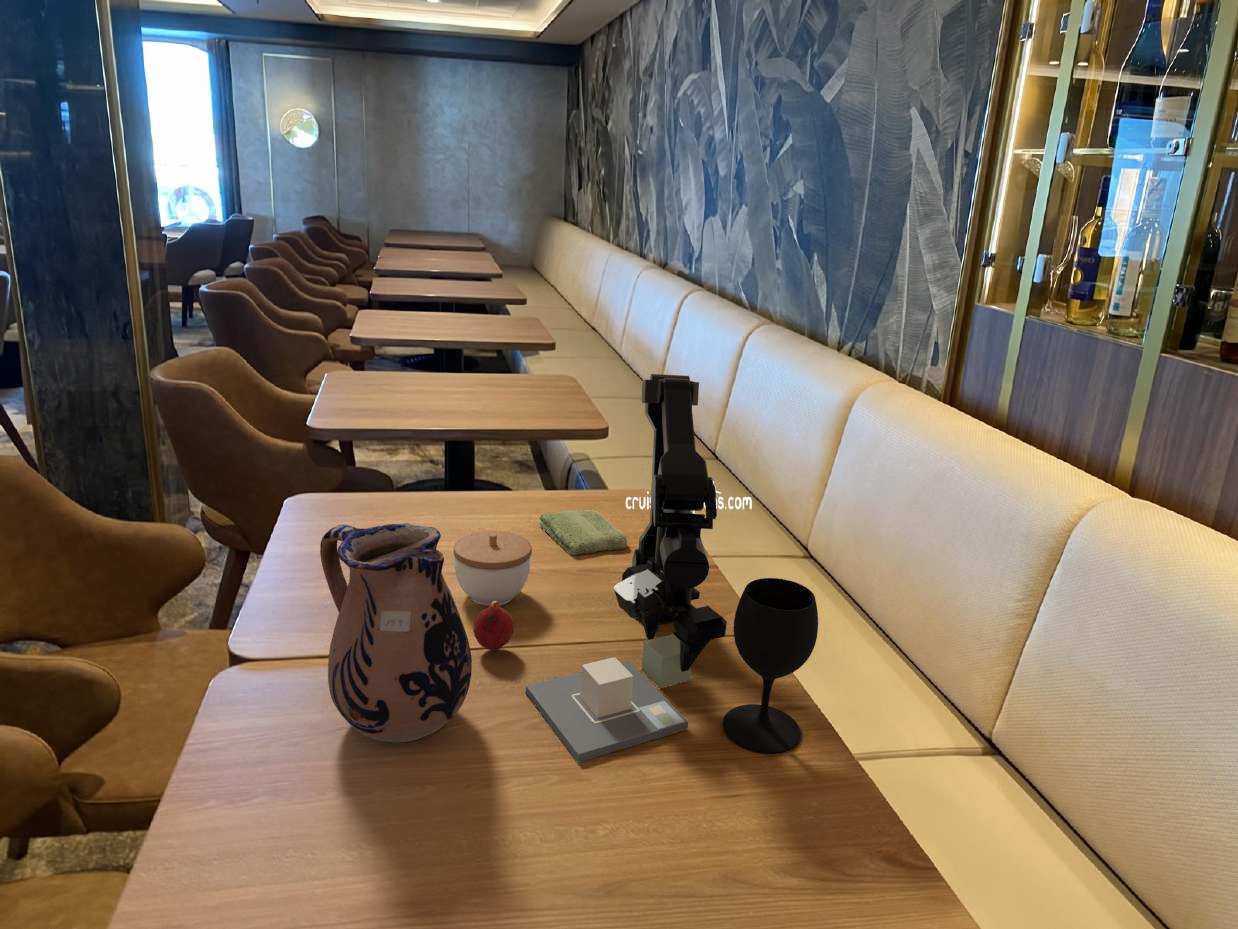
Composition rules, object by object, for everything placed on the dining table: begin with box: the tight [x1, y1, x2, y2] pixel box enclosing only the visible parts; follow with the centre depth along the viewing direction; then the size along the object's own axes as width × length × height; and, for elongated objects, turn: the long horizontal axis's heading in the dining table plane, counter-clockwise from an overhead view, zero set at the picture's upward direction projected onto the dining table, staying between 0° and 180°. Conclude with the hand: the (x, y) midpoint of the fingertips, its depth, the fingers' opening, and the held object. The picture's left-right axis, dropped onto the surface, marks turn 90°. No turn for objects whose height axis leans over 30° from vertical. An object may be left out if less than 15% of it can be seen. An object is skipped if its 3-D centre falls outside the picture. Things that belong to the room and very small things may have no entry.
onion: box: [473, 601, 515, 652], centre depth 128 cm, size 6×6×8 cm
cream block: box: [580, 656, 633, 718], centre depth 116 cm, size 5×5×5 cm
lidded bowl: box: [453, 530, 533, 607], centre depth 144 cm, size 13×13×11 cm
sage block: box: [641, 633, 692, 689], centre depth 125 cm, size 5×5×5 cm
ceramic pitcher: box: [319, 522, 473, 743], centre depth 109 cm, size 18×21×25 cm
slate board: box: [525, 660, 689, 763], centre depth 117 cm, size 16×16×1 cm
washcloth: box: [538, 509, 628, 556], centre depth 171 cm, size 13×18×3 cm
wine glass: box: [722, 577, 819, 755], centre depth 112 cm, size 10×10×20 cm
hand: (666, 654), depth 125 cm, fingers open, 9 cm apart
